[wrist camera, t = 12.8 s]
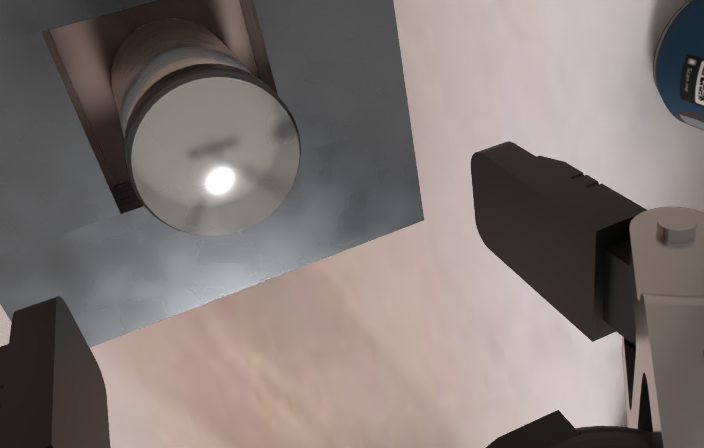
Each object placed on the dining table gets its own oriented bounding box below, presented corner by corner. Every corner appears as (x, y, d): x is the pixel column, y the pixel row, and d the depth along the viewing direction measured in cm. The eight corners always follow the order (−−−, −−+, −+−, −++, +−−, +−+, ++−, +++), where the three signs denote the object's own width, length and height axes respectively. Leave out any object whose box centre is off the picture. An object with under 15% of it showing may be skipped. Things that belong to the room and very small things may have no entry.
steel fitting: (217, 0, 23) (281, 53, 16) (251, 119, 25) (318, 206, 19) (86, 36, 22) (98, 107, 15) (135, 156, 24) (163, 262, 18)
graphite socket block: (330, -224, 21) (359, -234, 19) (398, 195, 30) (424, 219, 28) (-217, -115, 17) (-252, -112, 15) (40, 327, 26) (38, 366, 24)
